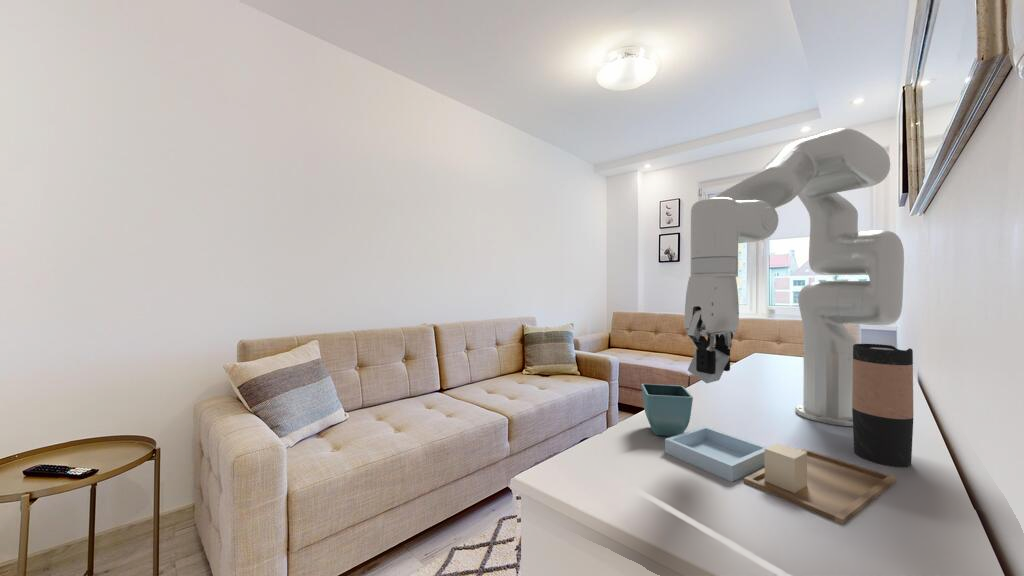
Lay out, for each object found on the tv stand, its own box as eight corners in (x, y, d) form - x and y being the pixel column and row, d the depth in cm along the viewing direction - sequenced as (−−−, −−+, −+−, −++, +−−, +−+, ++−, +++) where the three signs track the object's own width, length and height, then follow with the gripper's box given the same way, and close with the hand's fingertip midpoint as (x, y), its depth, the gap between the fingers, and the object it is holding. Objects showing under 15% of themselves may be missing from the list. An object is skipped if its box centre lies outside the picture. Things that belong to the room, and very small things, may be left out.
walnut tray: (803, 455, 68) (803, 448, 68) (895, 485, 58) (895, 477, 58) (743, 485, 58) (744, 478, 58) (842, 528, 48) (842, 519, 48)
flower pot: (693, 442, 74) (693, 396, 74) (646, 439, 76) (646, 394, 76) (683, 426, 83) (683, 385, 83) (640, 423, 84) (640, 383, 84)
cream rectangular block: (777, 474, 60) (777, 443, 60) (807, 485, 57) (807, 452, 57) (764, 480, 58) (764, 448, 58) (794, 493, 55) (794, 458, 55)
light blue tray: (704, 441, 75) (704, 426, 75) (771, 466, 64) (771, 448, 64) (664, 455, 68) (664, 439, 68) (731, 485, 58) (731, 466, 58)
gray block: (699, 367, 72) (710, 345, 70) (719, 380, 69) (730, 356, 67) (687, 370, 70) (697, 347, 68) (706, 383, 67) (718, 359, 65)
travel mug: (851, 461, 66) (851, 347, 66) (852, 447, 71) (852, 342, 71) (915, 476, 61) (916, 352, 60) (911, 460, 66) (911, 346, 66)
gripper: (718, 270, 75) (718, 362, 75) (665, 268, 66) (665, 372, 66) (759, 269, 69) (759, 369, 69) (707, 266, 60) (706, 381, 60)
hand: (713, 370), depth 68 cm, fingers closed on gray block, 3 cm apart
